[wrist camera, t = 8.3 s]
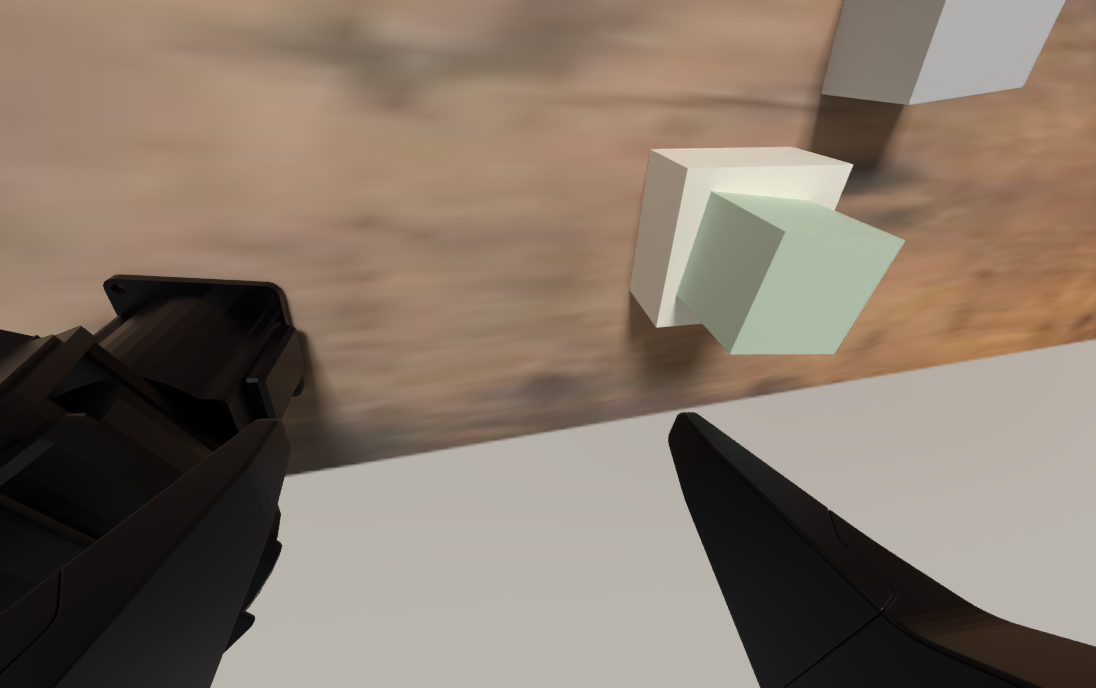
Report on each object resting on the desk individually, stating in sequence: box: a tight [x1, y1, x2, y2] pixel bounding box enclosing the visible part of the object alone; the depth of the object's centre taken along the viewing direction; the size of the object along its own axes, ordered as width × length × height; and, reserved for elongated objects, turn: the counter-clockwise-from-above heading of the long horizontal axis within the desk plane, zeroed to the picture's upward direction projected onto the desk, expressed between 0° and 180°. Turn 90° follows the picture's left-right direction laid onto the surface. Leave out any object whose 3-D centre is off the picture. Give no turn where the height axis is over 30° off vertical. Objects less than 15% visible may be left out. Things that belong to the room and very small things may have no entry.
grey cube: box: [821, 0, 1065, 105], centre depth 15 cm, size 4×4×4 cm
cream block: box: [630, 147, 854, 328], centre depth 19 cm, size 7×7×4 cm
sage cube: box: [677, 191, 905, 354], centre depth 16 cm, size 4×4×4 cm
